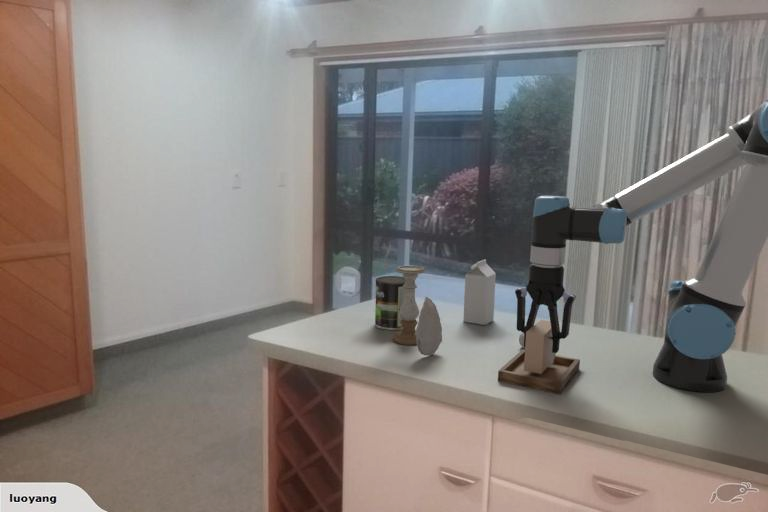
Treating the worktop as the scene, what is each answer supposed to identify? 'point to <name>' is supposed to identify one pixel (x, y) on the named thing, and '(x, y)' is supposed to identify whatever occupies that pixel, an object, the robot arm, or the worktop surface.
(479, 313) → the milk carton
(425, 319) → the stone tool
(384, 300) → the coffee can
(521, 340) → the garlic
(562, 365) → the tray
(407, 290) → the candle holder
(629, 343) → the worktop surface
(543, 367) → the tan rectangular block
